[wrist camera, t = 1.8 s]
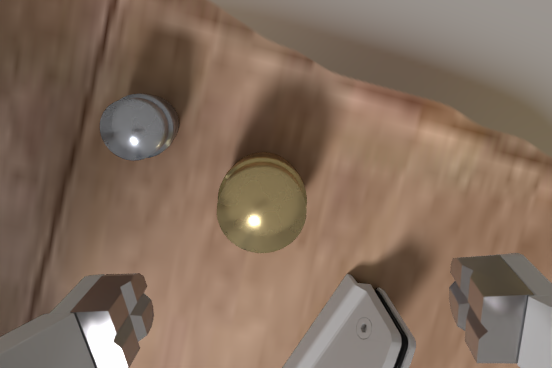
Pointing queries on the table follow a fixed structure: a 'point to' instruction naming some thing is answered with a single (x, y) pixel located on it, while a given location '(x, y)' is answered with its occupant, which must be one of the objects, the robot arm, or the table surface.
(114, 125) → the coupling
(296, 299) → the table surface
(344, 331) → the grey bevelled device
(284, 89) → the table surface
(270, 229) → the cylinder
